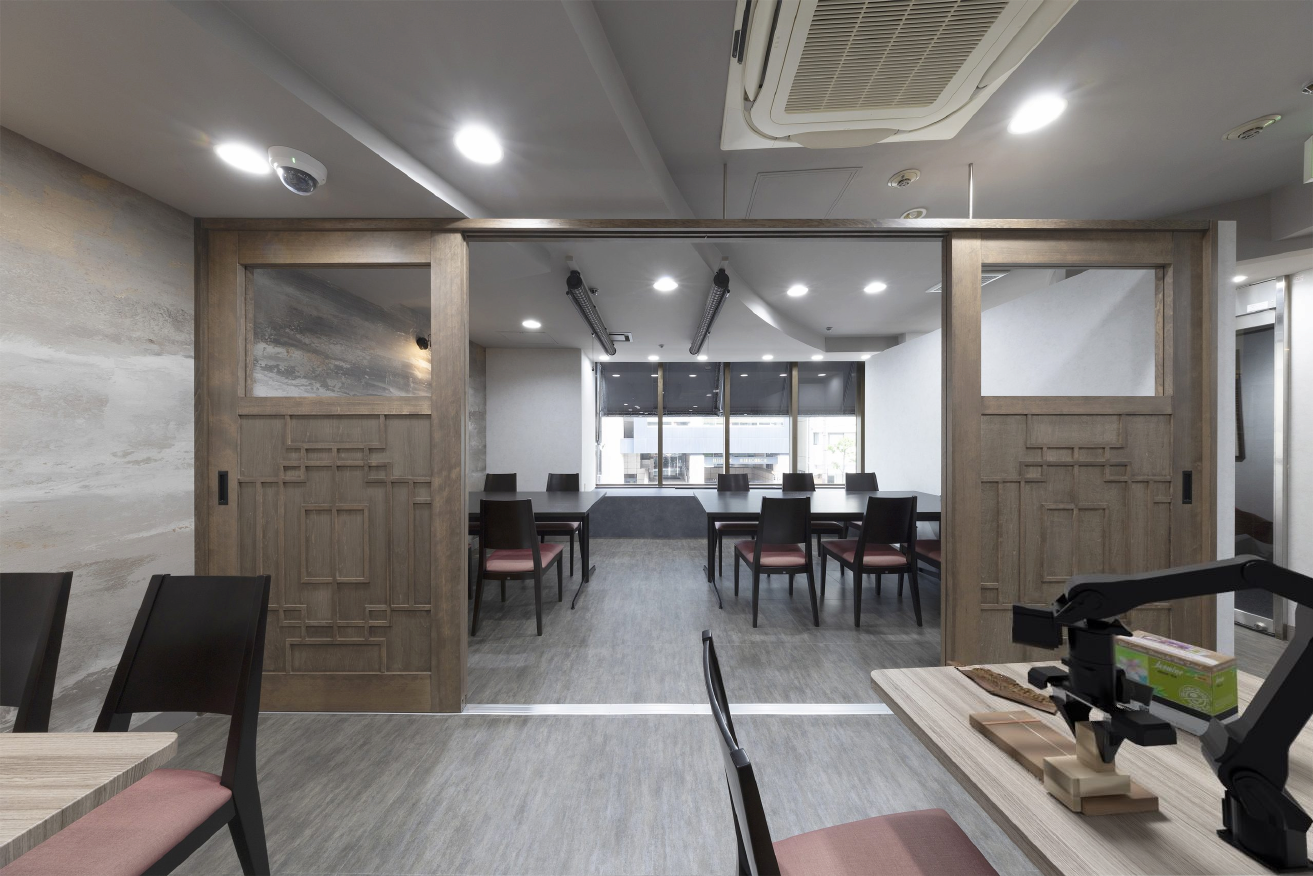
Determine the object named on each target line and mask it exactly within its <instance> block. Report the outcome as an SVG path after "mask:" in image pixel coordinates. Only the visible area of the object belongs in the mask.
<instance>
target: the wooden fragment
mask: <svg viewBox="0 0 1313 876" xmlns="http://www.w3.org/2000/svg"><path fill="white" fill-rule="evenodd" d="M946 662H947V663H948V664H949V665H951V666H952V667H954V668H955V667H966V666H973V665H971V664H965V663H960V662H957V661H950V660H947V661H946ZM979 667H980V666H979ZM957 670H959V671H960V672H961V673H963V674H964V675H965V676H967V677H969V678H971V679H972V680H973V681H974V682H976V683H977V684H978V685H979V686H981V687H982V688H984V689H985V690H986V691H987V692H989V693H990V694H993V695H995V694H996V695H998V696H1001V697H1004V698H1008V699H1011V700H1013V701H1016V702H1019V703H1020V704H1021V703H1022V704H1025V705H1027V706H1030V707H1034V708H1036V709H1039V710H1043V711H1046V712H1050V713H1053V715H1054V716H1055V715H1056V714H1057V713H1058V712H1059V710H1058V709H1057V707H1056V706H1055V704H1054V703H1053V701H1051V700H1050V699H1049V696H1047V695H1046V694H1042V693H1037V692H1036V691H1035V690H1034V689H1032V688H1029V687H1024V686H1023V685H1021V684H1020V683H1019V682H1017V680H1016V679H1014V678H1012V677H1010V676H1008V675H1005V674H1002V673H998V672H995V671H994V670H992V669H989V668H985V667H980V668H973V669H972V670H960V669H957ZM1001 676H1002V677H1001Z"/></svg>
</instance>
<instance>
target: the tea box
mask: <svg viewBox="0 0 1313 876" xmlns="http://www.w3.org/2000/svg"><path fill="white" fill-rule="evenodd" d="M1131 632H1132V633H1133V637H1126V636H1119V635H1116V636H1115V647H1116V666H1118V667H1120V668H1122V669H1124V671H1125V672H1126V675H1127V676H1129V677H1131V678H1134V679H1136V680H1138V681H1140V682H1143V683H1145V684H1147V685H1149V686H1152V687H1154V688H1155V689H1154V692H1153V696H1152V699H1151V703H1150V707H1147V706H1144V705H1143V704H1142V703H1139V702H1136V701H1133V700H1130V702H1131V704H1122V703H1118V705H1122V706H1124V707H1126V708H1130V709H1132V710H1145V711H1147V712H1149V713H1151V714H1153V715H1155V716H1157V717H1159V718H1161V719H1163V720H1165V721H1167V722H1169V723H1170V724H1171V725H1172V726H1173V727H1174V728H1175V727H1176V728H1178V729H1181V730H1183V731H1185V732H1188V733H1190V734H1193V735H1195V736H1197V737H1198V736H1200V735H1202V734H1204V733H1205V732H1206V731H1207V729H1208V726H1209V723H1210V720H1211V719H1212V718H1216V719H1217V720H1219V721H1221V722H1222V723H1224V724H1227V723H1230V722H1232V721H1235V720H1237V719H1239V699H1238V698H1239V695H1238V693H1239V692H1238V670H1237V669H1238V667H1237V666H1238V665H1237V657H1235V656H1231V655H1227V654H1225V653H1221V652H1217V651H1214V650H1211V649H1210V650H1209V649H1207V648H1202V647H1199V646H1196V645H1192V644H1189V643H1186V642H1182V641H1178V640H1174V639H1172V638H1168V637H1164V636H1160V635H1157V634H1153V633H1149V632H1146V631H1142V630H1138V629H1137V630H1135V631H1131Z"/></svg>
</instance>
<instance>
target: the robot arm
mask: <svg viewBox="0 0 1313 876" xmlns="http://www.w3.org/2000/svg"><path fill="white" fill-rule="evenodd" d="M1254 589H1255V590H1256V589H1262V590H1265V591H1267V592H1269V593H1272V594H1275V595H1277V596H1280V597H1282V598H1283V599H1284V598H1285V599H1287V600H1289V601H1292V602H1294V603H1296V606H1295V607H1296V608H1295V610H1294V634H1293V638H1292V639H1291V640H1290V642H1288V645H1287V646H1286V647H1285V649H1284V651H1283V653H1282V654H1281V656H1280V657H1279V658H1278V660H1277V661H1276V663H1275V664H1274V665H1273V668H1272V669H1271V670H1270V672H1269V674H1268V675H1267V677H1265V679H1264V681H1263V683H1262V684H1261V686H1260V687H1259V688H1258V689H1257V692H1256V693H1255V694H1254V696H1253V697H1252V699H1251V700H1250V702H1249V704H1248V705H1247V707H1246V708H1245V710H1244V712H1243V713H1242V714H1241V716H1240V717H1238V719H1237V720H1235V721H1232V722H1230V723H1227V724H1224V723H1222V722H1221V721H1219V720H1217V719H1216V718H1212V719H1211V720H1210V723H1209V726H1208V729H1207V731H1206V732H1205V733H1204V734H1202V735H1200V736H1197V738H1198V739H1199V741H1200V742H1201V746H1200V751H1201V753H1202V756H1203V759H1205V761H1206V763H1207V764H1208V766H1209V767H1210V768H1211V770H1212V772H1213V773H1214V775H1215V776H1216V778H1217V779H1218V781H1219V782H1220V783H1221V786H1223V787H1224V788H1225V789H1224V790H1223V791H1224V797H1221V798H1220V799H1221V801H1220V802H1221V813H1222V814H1221V818H1222V822H1221V823H1222V826H1223V828H1220V829H1216V830H1215V831H1216V835H1217V836H1219V837H1220V838H1221V839H1223V840H1225V841H1226V842H1228V843H1230V844H1231V845H1232V846H1234V847H1236V848H1237V849H1238V850H1240V851H1242V852H1243V853H1246V854H1247V855H1248V856H1250V857H1252V858H1253V859H1254V860H1255V861H1257V860H1258V861H1257V862H1259V863H1260V864H1262V865H1263V866H1265V867H1267V868H1268V869H1269V870H1271V871H1273V872H1275V873H1278V874H1284V873H1287V874H1288V873H1296V872H1297V873H1298V872H1306V871H1307V872H1308V871H1313V860H1312V859H1310V858H1309V857H1308V855H1309V853H1308V837H1307V833H1308V831H1309V830H1310V829H1311V826H1312V825H1313V818H1312V816H1310V814H1309V813H1308V812H1307V811H1306V810H1305V809H1304V807H1303V806H1302V805H1301V804H1300V803H1299V802H1298V801H1297V799H1296V798H1295V797H1294V796H1293V795H1292V793H1291V792H1290V791H1289V790H1288V789H1287V787H1286V785H1287V782H1288V779H1289V775H1290V768H1289V767H1290V763H1289V762H1290V749H1291V746H1292V744H1293V743H1294V742H1295V741H1296V739H1297V738H1298V736H1299V735H1300V733H1301V731H1302V730H1303V729H1304V728H1305V726H1306V725H1307V723H1308V722H1309V721H1310V719H1311V717H1312V716H1313V577H1312V576H1308V575H1306V574H1303V573H1301V572H1298V571H1296V570H1295V571H1294V570H1292V569H1289V568H1286V567H1283V566H1281V565H1278V564H1276V563H1274V562H1272V561H1270V560H1267V559H1264V558H1262V557H1260V556H1257V555H1254V554H1248V553H1246V554H1239V555H1236V556H1234V557H1231V558H1225V559H1219V560H1212V561H1205V562H1199V563H1196V564H1195V563H1194V564H1189V565H1181V566H1176V567H1170V568H1164V569H1157V570H1152V571H1146V572H1138V573H1133V574H1118V573H1117V574H1116V573H1115V574H1114V573H1112V574H1111V573H1085V574H1084V573H1083V574H1081V573H1080V574H1075V575H1072V576H1070V577H1068V578H1067V580H1066V581H1065V583H1064V584H1063V592H1062V593H1061V594H1060V595H1059V596H1058V597H1057V598H1055V599H1054V601H1052V602H1051V603H1050V604H1049V607H1043V606H1035V605H1028V604H1024V603H1022V602H1015V601H1013V602H1011V617H1010V629H1011V630H1010V631H1011V644H1014V645H1020V646H1026V647H1031V648H1038V649H1043V650H1048V651H1053V652H1054V651H1055V650H1056V649H1058V650H1059V648H1060V647H1061V646H1063V645H1064V640H1063V639H1064V638H1063V636H1064V635H1063V634H1064V633H1063V627H1064V628H1066V641H1067V646H1066V647H1067V656H1065V657H1062V656H1061V657H1060V663H1061V665H1063V666H1066V667H1067V669H1068V671H1066V670H1064V669H1062V668H1060V667H1058V666H1056V665H1049V666H1048V665H1045V666H1031V667H1030V669H1029V670H1028V671H1027V683H1028V684H1029V685H1031V686H1033V687H1034V688H1036V689H1038V690H1039V691H1044V690H1047V689H1048V685H1050V688H1052V694H1049V695H1048V697H1049V699H1050V700H1051V701H1053V703H1054V704H1055V706H1056V707H1057V709H1058V710H1059V711H1058V712H1059V713H1060V715H1061V717H1062V718H1063V720H1064V722H1065V723H1066V724H1067V727H1068V728H1069V731H1070V732H1071V734H1072V735H1073V737H1074V740H1076V730H1075V722H1080V721H1091V724H1092V727H1093V731H1094V735H1095V739H1096V742H1097V746H1098V750H1099V753H1100V756H1101V759H1102V761H1103V762H1104V763H1105V764H1110V763H1112V761H1113V759H1114V757H1115V758H1116V755H1117V753H1118V751H1119V749H1120V748H1121V745H1122V744H1123V742H1124V741H1125V740H1127V741H1129V742H1131V743H1133V744H1134V745H1136V746H1140V747H1144V748H1147V747H1158V746H1159V747H1162V746H1173V745H1175V746H1177V745H1178V735H1177V730H1176V728H1175V726H1173V725H1171V724H1170V723H1169V722H1167V721H1165V720H1163V719H1161V718H1159V717H1157V716H1155V715H1153V714H1151V713H1149V712H1147V711H1145V710H1134V709H1132V710H1131V709H1130V710H1129V709H1127V708H1123V707H1120V706H1118V705H1119V704H1118V703H1122V704H1131V702H1130V700H1133V701H1136V702H1139V703H1142V704H1143V705H1144V706H1147V707H1150V703H1151V699H1152V696H1153V692H1154V689H1155V688H1154V687H1152V686H1149V685H1147V684H1145V683H1143V682H1140V681H1138V680H1136V679H1134V678H1131V677H1129V676H1127V675H1126V672H1125V671H1124V669H1122V668H1120V667H1118V666H1116V647H1115V637H1116V636H1126V637H1133V633H1132V632H1133V631H1132V630H1130V628H1129V627H1128V626H1127V625H1126V624H1124V623H1123V622H1122V621H1120V619H1119V618H1118V616H1120V615H1124V614H1127V613H1129V612H1131V611H1133V610H1135V609H1137V608H1139V607H1142V606H1145V605H1148V604H1152V603H1159V602H1165V601H1173V600H1182V599H1189V598H1196V597H1204V596H1210V595H1217V594H1225V593H1233V592H1238V591H1239V592H1240V591H1248V590H1254ZM1059 646H1060V647H1059ZM1093 709H1095V710H1096V711H1098V712H1100V713H1102V714H1103V716H1102V719H1101V720H1100V719H1099V720H1090V714H1091V712H1092V710H1093Z"/></svg>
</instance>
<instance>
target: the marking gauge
mask: <svg viewBox="0 0 1313 876" xmlns="http://www.w3.org/2000/svg"><path fill="white" fill-rule="evenodd" d="M1091 721H1092V720H1089V721H1080V722H1075V730H1076V739H1075V743H1076V755H1073V756H1058V757H1044V758H1043V770H1044V782H1043V788H1044V789H1045V790H1046V791H1047V792H1049V793H1050V794H1051V795H1052V796H1053V797H1055V798H1056V799H1058V800H1059V801H1060V802H1061V803H1062V804H1064V805H1065V806H1066V807H1068V809H1070V810H1071V811H1072V812H1074V813H1075V812H1081V799H1080V797H1087V796H1100V795H1113V794H1126V793H1131V785H1130V779H1131V774H1129V773H1128V772H1127V771H1125V770H1123V769H1122V768H1120V767H1119V766H1117V765H1116V756H1115V757H1114V759H1113V761H1112V763H1110V764H1105V763H1104V762H1103V761H1102V759H1101V756H1100V753H1099V750H1098V746H1097V742H1096V739H1095V735H1094V731H1093V727H1092V724H1091Z"/></svg>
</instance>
